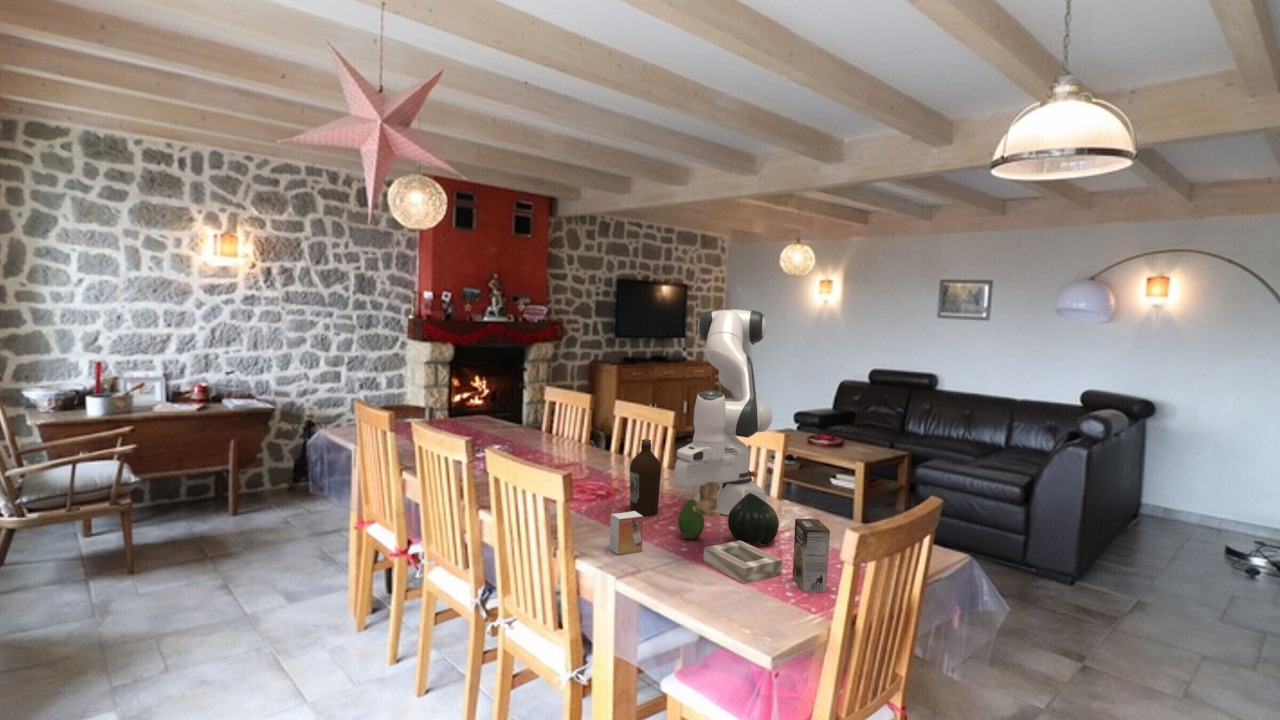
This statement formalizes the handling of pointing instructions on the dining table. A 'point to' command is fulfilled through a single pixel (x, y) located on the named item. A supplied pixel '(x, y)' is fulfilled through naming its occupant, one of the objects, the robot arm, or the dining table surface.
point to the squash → (753, 521)
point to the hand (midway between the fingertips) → (706, 499)
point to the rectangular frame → (742, 561)
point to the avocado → (690, 521)
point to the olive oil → (645, 481)
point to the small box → (626, 532)
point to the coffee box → (811, 555)
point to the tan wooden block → (708, 500)
